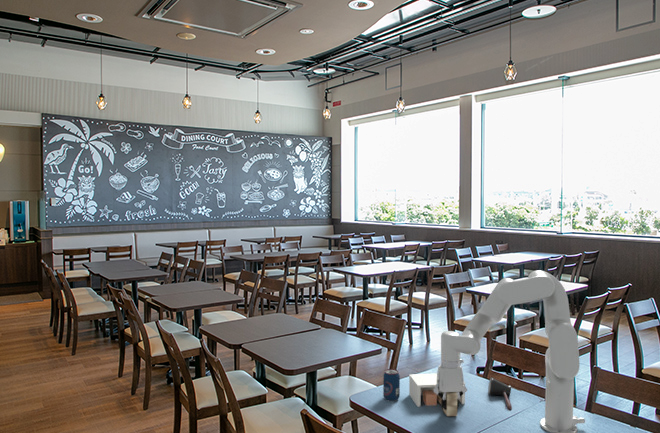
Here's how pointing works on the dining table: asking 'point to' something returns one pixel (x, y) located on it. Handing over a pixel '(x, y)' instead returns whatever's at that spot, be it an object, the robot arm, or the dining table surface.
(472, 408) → the dining table surface
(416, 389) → the shelf cubby
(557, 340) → the robot arm
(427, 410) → the dining table surface
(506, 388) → the coffee pot
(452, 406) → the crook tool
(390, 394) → the soda can
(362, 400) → the dining table surface
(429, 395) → the block
